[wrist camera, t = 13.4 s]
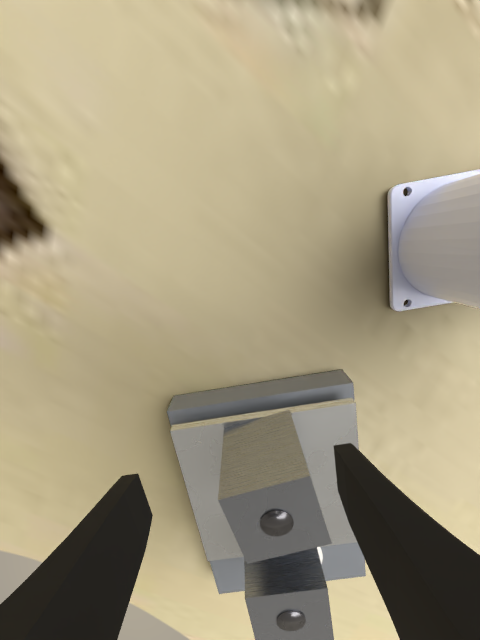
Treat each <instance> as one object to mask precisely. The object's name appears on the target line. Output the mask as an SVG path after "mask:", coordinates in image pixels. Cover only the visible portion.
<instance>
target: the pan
mask: <svg viewBox="0 0 480 640" xmlns="http://www.w3.org/2000/svg"><path fill="white" fill-rule="evenodd" d="M286 410H290V412H291V416H292V419H293V422H294V425H295V428H296V431H297V434H298V437H299V440H300V443H301V446H302V449H303V453H304V456H305V459H306V462H307V465H308V468H309V471H310V475H311V478H312V481H313V484H314V488H315V491H316V494H317V497H318V500H319V504H320V507H321V510H322V513H323V516H324V520H325V523H326V526H327V529H328V533H329V536H330V539H331V542H332V544H329V545H325V546H331V545H339V544H347V543H355V542H357V540H356V538H355V536H354V533H353V531H352V529H351V527H350V524H349V522H348V519H347V516H346V513H345V510H344V507H343V504H342V501H341V498H340V496H339V493H338V488H337V477H336V467H335V456H334V445H340V444H347V443H351V444H353V445H354V446H355V447H356V448H357V449H358V450H359V448H358V432H357V416H356V403H355V401H354V400H353V399H352V398H346V399H340V400H333V401H327V402H320V403H314V404H307V405H300V406H294V407H287V408H281V409H274V410H267V411H261V412H254V413H248V414H241V415H234V416H228V417H221V418H215V419H208V420H202V421H195V422H188V423H182V424H175V425H172V427H171V429H170V433H171V436H172V440H173V443H174V447H175V450H176V454H177V457H178V461H179V464H180V468H181V471H182V474H183V478H184V481H185V485H186V488H187V492H188V495H189V499H190V502H191V506H192V509H193V512H194V516H195V519H196V523H197V526H198V530H199V533H200V537H201V540H202V543H203V547H204V550H205V554H206V557H207V561H214V560H222V559H229V558H237V557H244V556H243V554H242V552H241V549H240V547H239V545H238V543H237V541H236V538H235V536H234V534H233V532H232V530H231V528H230V525H229V523H228V521H227V519H226V517H225V514H224V512H223V510H222V508H221V506H220V503H219V501H218V493H219V481H220V470H221V458H222V446H223V434H224V428H227V427H230V426H234V425H237V424H241V423H244V422H248V421H251V420H255V419H258V418H262V417H265V416H269V415H272V414H276V413H279V412H283V411H286ZM320 547H324V546H320Z"/></svg>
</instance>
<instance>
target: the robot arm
mask: <svg viewBox="0 0 480 640" xmlns="http://www.w3.org/2000/svg"><path fill="white" fill-rule="evenodd" d="M405 188H406V189H407V191H408V194H407V195H406V196H404V195H403V190H404V189H405ZM388 239H389V287H390V307H391V308H392V309H393V310H395V311H405V310H411V309H417V308H423V307H429V306H435V305H441V304H447V303H453V302H454V303H458V304H462V305H466V306H470V307H474V308H477V309H480V169H478V170H473V171H468V172H462V173H457V174H451V175H446V176H441V177H435V178H430V179H425V180H419V181H414V182H408V183H403V184H398V185H396V186H393V187H392V188H391V189H390V190H389V192H388ZM405 300H408V303H407V304H406V305H405V306H404V301H405ZM334 456H335V467H336V477H337V488H338V493H339V496H340V498H341V501H342V504H343V507H344V510H345V513H346V516H347V519H348V522H349V524H350V527H351V529H352V531H353V533H354V536H355V538H356V540H357V542H358V545H359V547H360V549H361V551H362V554H363V556H364V558H365V560H366V562H367V565H368V567H369V569H370V571H371V574H372V576H373V578H374V580H375V582H376V585H377V587H378V589H379V591H380V594H381V596H382V598H383V600H384V602H385V605H386V607H387V609H388V611H389V614H390V616H391V619H392V621H393V623H394V626H395V628H396V631H397V633H398V636H399V638H400V640H480V555H479V554H477V553H476V552H475V551H473V550H472V549H471V548H469V547H468V546H467V545H465V544H464V543H463V542H461V541H460V540H459V539H458V538H456V537H455V536H454V535H452V534H451V533H450V532H449V531H447V530H446V529H445V528H444V527H442V526H441V525H440V524H439V523H438V522H436V521H435V520H434V519H433V518H432V517H430V516H429V515H428V514H427V513H426V512H424V511H423V510H422V509H421V508H420V507H419V506H417V505H416V504H415V503H414V502H413V501H412V500H410V499H409V498H408V497H407V496H406V495H405V494H404V493H403V492H402V491H400V490H399V489H398V488H397V487H396V486H395V485H394V484H393V483H392V482H391V481H390V480H388V479H387V478H386V477H385V476H384V475H383V474H382V473H381V472H380V471H379V470H378V469H377V468H376V467H375V466H374V465H373V464H372V463H371V462H370V461H369V460H368V459H367V458H366V457H365V456H364V455H363V454H362V453H361V452H360V451H359V450H358V449H357V448H356V447H355V446H354V445H353V444H351V443H347V444H340V445H334ZM152 516H153V515H152V512H151V510H150V507H149V504H148V501H147V498H146V495H145V492H144V489H143V486H142V484H141V481H140V478H139V475H138V474H132V475H125V476H122V477H121V478H120V479H119V480H118V481H117V482H116V483H115V484H114V485H113V486H112V487H111V489H110V490H109V491H108V492H107V493H106V494H105V495H104V496H103V498H102V499H101V500H100V501H99V502H98V503H97V504H96V506H95V507H94V508H93V509H92V510H91V511H90V512H89V513H88V514H87V516H86V517H85V518H84V519H83V520H82V521H81V522H80V523H79V524H78V526H77V527H76V528H75V529H74V530H73V531H72V532H71V533H70V534H69V536H68V537H67V538H66V539H65V540H64V541H63V542H62V543H61V544H60V545H59V546H58V547H57V548H56V549H55V550H54V551H53V552H52V553H51V555H50V556H49V557H48V558H47V559H46V560H45V561H44V562H43V563H42V564H41V565H40V566H39V567H38V568H37V569H36V570H35V571H34V572H33V573H32V574H31V575H30V576H29V577H28V579H26V580H25V582H23V583H22V584H21V585H20V586H19V587H18V588H17V589H16V590H15V591H14V592H13V593H12V594H11V595H10V596H9V597H8V598H7V599H6V600H5V601H4V602H3V603H2V604H0V640H117V638H118V635H119V632H120V629H121V626H122V623H123V619H124V616H125V613H126V610H127V607H128V604H129V601H130V598H131V594H132V591H133V588H134V585H135V582H136V579H137V576H138V572H139V569H140V566H141V563H142V560H143V556H144V553H145V549H146V545H147V540H148V536H149V531H150V526H151V521H152Z"/></svg>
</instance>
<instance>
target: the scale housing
mask: <svg viewBox="0 0 480 640" xmlns="http://www.w3.org/2000/svg"><path fill="white" fill-rule="evenodd" d="M346 398H352V399H353V400H354V387H353V382H352V381H351V379H350V378H349V377H348V376H347V375H346V373H345V372H344V371H343V370H336V371H329V372H323V373H316V374H310V375H304V376H297V377H291V378H285V379H278V380H272V381H265V382H259V383H253V384H246V385H240V386H234V387H227V388H221V389H214V390H208V391H202V392H195V393H189V394H183V395H176V396H173V398H172V401H171V403H170V405H169V407H168V410H167V414H168V418H169V421H170V425H171V427H172V425H175V424H182V423H188V422H195V421H202V420H208V419H215V418H221V417H228V416H234V415H241V414H248V413H254V412H261V411H267V410H274V409H281V408H287V407H294V406H300V405H307V404H314V403H320V402H327V401H333V400H340V399H346ZM317 550H318V554H319V557H320V561H321V565H322V569H323V573H324V577H325V581H329V580H337V579H345V578H354V577H362V576H366V574H365V558H364V556H363V554H362V551H361V549H360V547H359V545H358V542H355V543H347V544H339V545H331V546H324V547H317ZM210 564H211V568H212V571H213V575H214V578H215V582H216V585H217V589H218V592H219V594H222V593H230V592H239V591H245V566H244V557H237V558H229V559H222V560H214V561H210Z"/></svg>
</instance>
